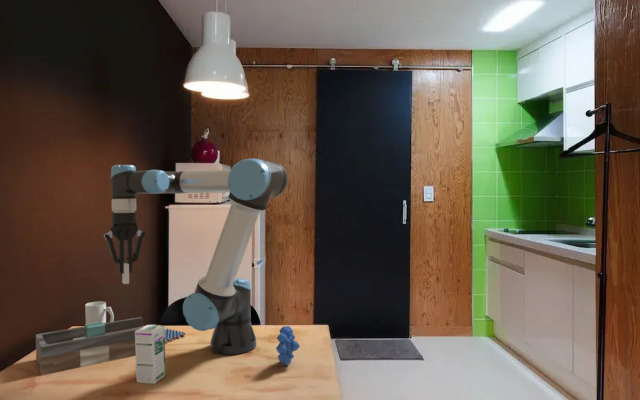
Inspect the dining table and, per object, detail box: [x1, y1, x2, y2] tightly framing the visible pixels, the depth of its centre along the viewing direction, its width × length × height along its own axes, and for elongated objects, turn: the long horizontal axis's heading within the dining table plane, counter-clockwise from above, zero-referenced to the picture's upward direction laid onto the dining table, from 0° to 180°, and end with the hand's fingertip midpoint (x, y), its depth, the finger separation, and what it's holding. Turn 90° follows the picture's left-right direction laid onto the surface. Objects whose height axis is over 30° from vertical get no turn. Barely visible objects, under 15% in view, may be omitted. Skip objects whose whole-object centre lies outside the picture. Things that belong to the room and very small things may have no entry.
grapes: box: [275, 325, 301, 366], centre depth 138 cm, size 12×7×12 cm, turn 166°
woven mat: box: [164, 328, 186, 344], centre depth 165 cm, size 10×11×2 cm
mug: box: [84, 301, 115, 324], centre depth 166 cm, size 10×7×12 cm, turn 85°
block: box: [84, 322, 105, 338], centre depth 147 cm, size 5×5×5 cm
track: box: [35, 316, 144, 376], centre depth 147 cm, size 15×32×8 cm, turn 127°
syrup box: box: [135, 324, 167, 385], centre depth 128 cm, size 6×6×14 cm
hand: (125, 283), depth 152 cm, fingers closed
